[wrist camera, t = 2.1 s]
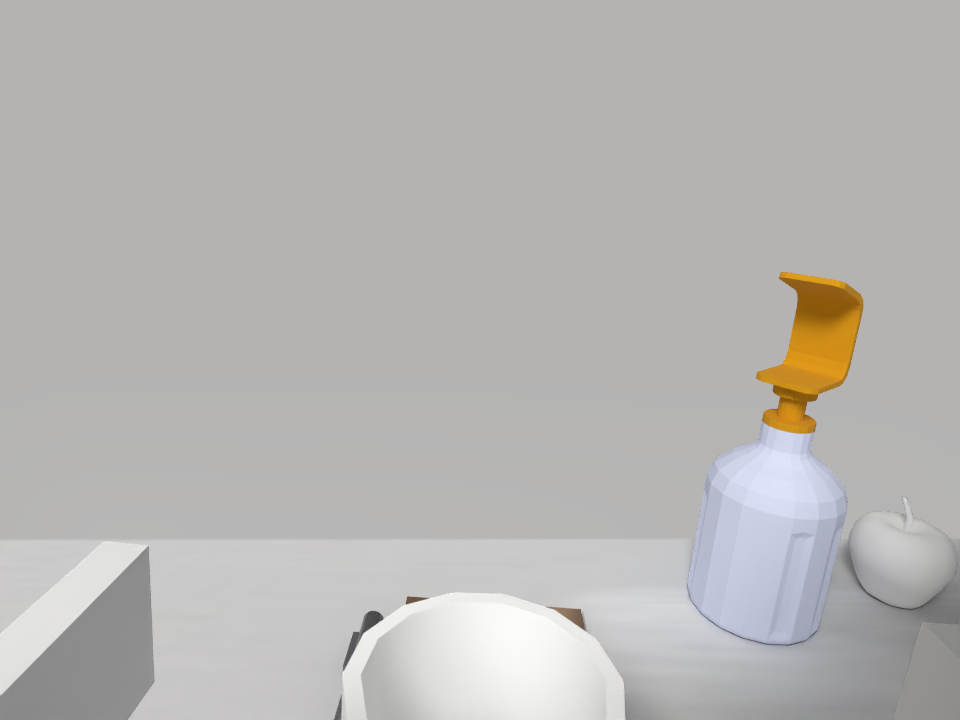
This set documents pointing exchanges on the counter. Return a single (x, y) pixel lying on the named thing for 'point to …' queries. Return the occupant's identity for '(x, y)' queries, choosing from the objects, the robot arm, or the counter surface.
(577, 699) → the foam cup
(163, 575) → the counter surface
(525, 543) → the counter surface
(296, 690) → the counter surface
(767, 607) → the soap bottle
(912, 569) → the plain white apple
